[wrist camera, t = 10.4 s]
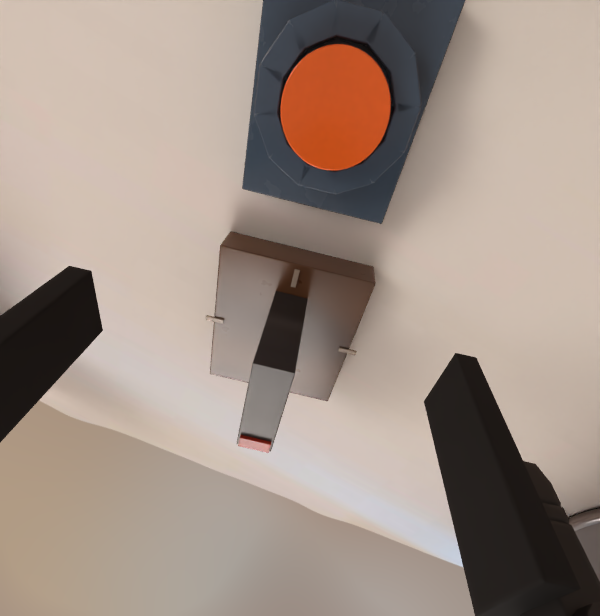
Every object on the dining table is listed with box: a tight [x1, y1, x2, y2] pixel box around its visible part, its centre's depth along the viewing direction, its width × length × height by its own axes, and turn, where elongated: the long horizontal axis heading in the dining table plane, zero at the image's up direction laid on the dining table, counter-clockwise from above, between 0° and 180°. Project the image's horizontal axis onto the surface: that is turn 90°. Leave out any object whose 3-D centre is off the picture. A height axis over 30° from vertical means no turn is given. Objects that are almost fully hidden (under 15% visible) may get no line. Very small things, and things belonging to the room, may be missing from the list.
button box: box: [242, 0, 465, 224], centre depth 18 cm, size 11×9×4 cm
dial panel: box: [206, 232, 375, 401], centre depth 28 cm, size 13×12×3 cm
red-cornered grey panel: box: [237, 291, 308, 453], centre depth 24 cm, size 8×2×8 cm, turn 167°
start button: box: [280, 44, 391, 171], centre depth 16 cm, size 5×5×2 cm
